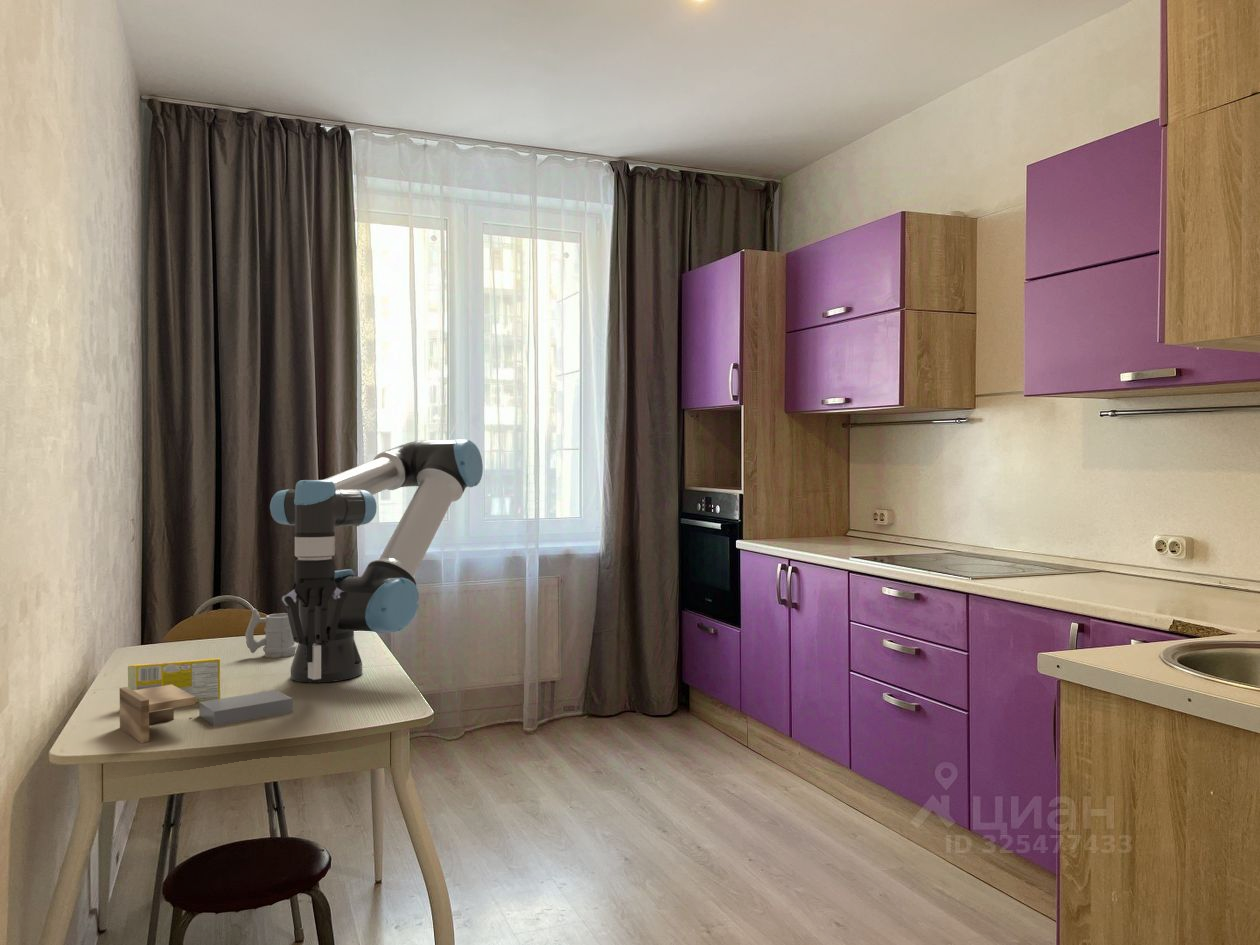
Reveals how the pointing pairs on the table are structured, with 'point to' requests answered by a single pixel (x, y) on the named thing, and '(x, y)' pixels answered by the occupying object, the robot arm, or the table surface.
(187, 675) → the candy box
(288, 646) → the mug
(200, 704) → the gray block
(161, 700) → the shelf
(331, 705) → the table surface
